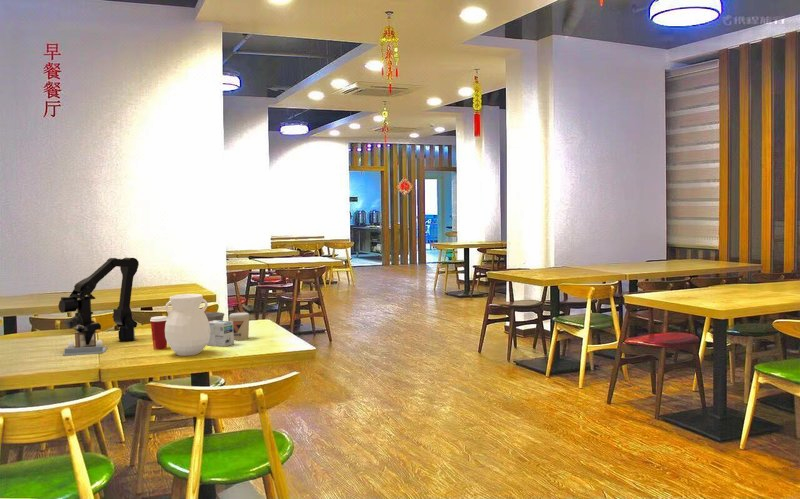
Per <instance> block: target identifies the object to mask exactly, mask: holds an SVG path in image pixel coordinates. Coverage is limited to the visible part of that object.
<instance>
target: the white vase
mask: <svg viewBox="0 0 800 499" xmlns="http://www.w3.org/2000/svg"><path fill="white" fill-rule="evenodd" d="M202 303H204V306H203V307H202V308H200V306H201V304H202ZM169 305H171V306H172V309H171V310H170V309H169ZM208 305H209V304H208V302H207V300H206V299H204V297H203V294H199V293H182V294H181V293H179V294H174V295H170V296H169V300H168V302H166V304H165V306H164V307H165V309H164V310H165V311H166V312H167V321H166V324H165V338H166V341H167V346H168V347H170V349H171V350H172V351H173V352H174V353H175V355H177V356H182V357H185V356H186V357H187V356H195V355H199V354H200V353H201V352H202V351H203V350H204V349H205V348H206V346H208V345H207V344H208V342H209V339H210V325H209V321H208V319H207V316H206V315H205V313H204V312H206V310H207V309H208Z"/></svg>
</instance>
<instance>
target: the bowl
mask: <svg viewBox="0 0 800 499" xmlns="http://www.w3.org/2000/svg"><path fill="white" fill-rule="evenodd" d="M204 313H205V315H206V316H207V319H208V321H214V320H217V321H224V317H225V313H224V312H220V311H218V312H216V311H204Z"/></svg>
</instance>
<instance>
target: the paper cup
mask: <svg viewBox="0 0 800 499" xmlns="http://www.w3.org/2000/svg"><path fill="white" fill-rule="evenodd" d="M167 318H168V315H166V316H165V315H160V316H159V315H158V316H151V317H150V320H149V321H150V326H151V327H150V328H151V338H152V346H153V350H156V351H157V350H164V349H165V350H166V349H167V346H168V343H167V341H166V338H165V324H166V321H167Z"/></svg>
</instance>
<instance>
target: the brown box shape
mask: <svg viewBox="0 0 800 499" xmlns="http://www.w3.org/2000/svg"><path fill="white" fill-rule="evenodd" d="M96 331H97V330H96ZM96 331H95V332H94V334H93V336H92V339H91V341H90V343H89V345H86V342H85V336H84V333H83V332H80V333H78V332H75V333H74V348H82V347H97V342H96V341H97V335H96V334H97V333H96Z"/></svg>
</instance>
